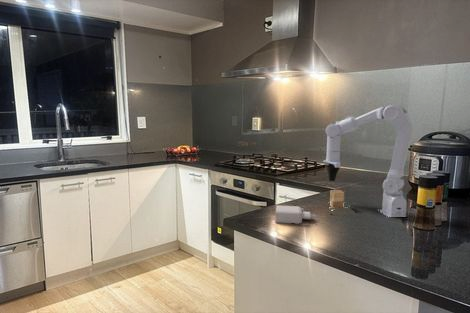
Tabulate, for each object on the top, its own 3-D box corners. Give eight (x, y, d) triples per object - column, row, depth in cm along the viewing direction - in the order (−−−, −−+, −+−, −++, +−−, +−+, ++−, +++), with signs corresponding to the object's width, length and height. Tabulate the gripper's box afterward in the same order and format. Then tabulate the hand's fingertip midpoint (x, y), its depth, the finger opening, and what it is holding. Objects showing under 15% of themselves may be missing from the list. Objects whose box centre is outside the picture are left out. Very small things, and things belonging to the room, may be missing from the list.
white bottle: (316, 226, 120) (275, 223, 122) (314, 217, 129) (276, 215, 131) (316, 213, 119) (275, 211, 121) (314, 206, 128) (276, 204, 130)
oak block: (343, 208, 138) (344, 192, 138) (332, 208, 138) (333, 192, 137) (339, 205, 143) (340, 190, 142) (329, 205, 143) (330, 190, 142)
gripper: (319, 148, 152) (318, 177, 154) (329, 152, 138) (327, 184, 140) (334, 149, 153) (333, 177, 154) (345, 153, 138) (344, 184, 140)
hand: (331, 180), depth 147 cm, fingers closed
